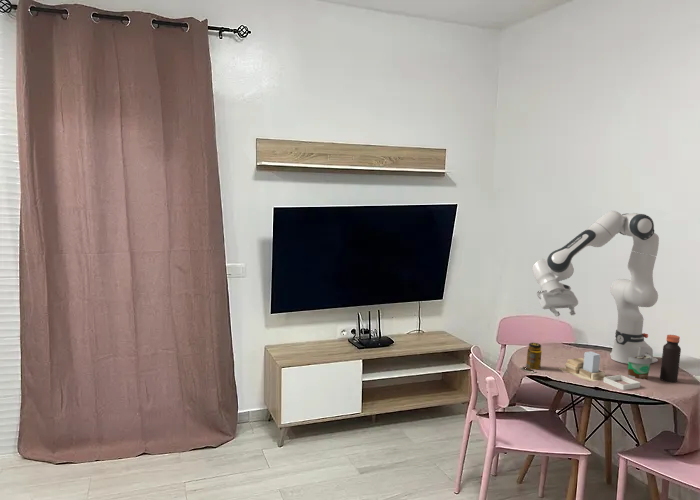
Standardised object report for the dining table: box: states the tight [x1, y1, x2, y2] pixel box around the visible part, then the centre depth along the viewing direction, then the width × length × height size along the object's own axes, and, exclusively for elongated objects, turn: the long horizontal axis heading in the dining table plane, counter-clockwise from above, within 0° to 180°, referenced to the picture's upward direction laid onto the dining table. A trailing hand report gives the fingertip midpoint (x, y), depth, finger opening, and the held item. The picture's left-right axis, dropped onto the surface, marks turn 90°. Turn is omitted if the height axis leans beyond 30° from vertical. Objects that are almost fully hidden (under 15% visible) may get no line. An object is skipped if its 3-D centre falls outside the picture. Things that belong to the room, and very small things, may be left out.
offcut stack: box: [564, 357, 584, 373], centre depth 261 cm, size 10×6×4 cm, turn 114°
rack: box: [558, 366, 609, 383], centre depth 257 cm, size 14×18×4 cm
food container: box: [627, 354, 653, 381], centre depth 255 cm, size 12×6×10 cm, turn 117°
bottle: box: [659, 334, 682, 383], centre depth 254 cm, size 7×7×20 cm
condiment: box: [519, 342, 542, 374], centre depth 262 cm, size 7×8×12 cm
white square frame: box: [602, 374, 641, 391], centre depth 245 cm, size 10×10×3 cm
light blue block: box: [583, 351, 601, 373], centre depth 254 cm, size 4×5×10 cm
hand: (565, 315), depth 267 cm, fingers open, 8 cm apart
